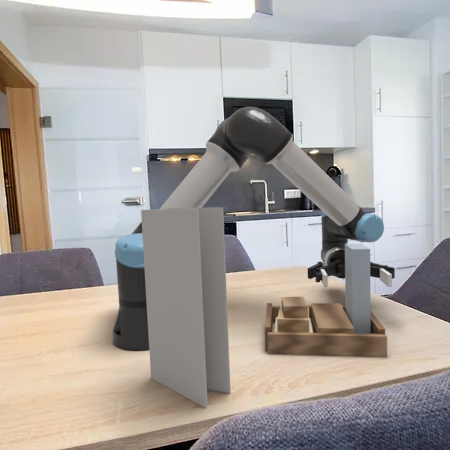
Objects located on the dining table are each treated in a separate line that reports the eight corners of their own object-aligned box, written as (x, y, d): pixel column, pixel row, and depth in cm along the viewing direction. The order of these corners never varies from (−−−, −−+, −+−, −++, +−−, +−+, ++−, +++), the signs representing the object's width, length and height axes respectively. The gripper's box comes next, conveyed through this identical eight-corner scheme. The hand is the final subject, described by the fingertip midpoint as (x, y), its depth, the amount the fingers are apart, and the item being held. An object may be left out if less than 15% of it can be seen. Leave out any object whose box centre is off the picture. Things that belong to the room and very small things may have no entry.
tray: (265, 353, 71) (264, 329, 71) (268, 321, 90) (267, 301, 89) (387, 357, 68) (387, 331, 68) (364, 322, 86) (364, 302, 86)
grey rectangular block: (352, 345, 74) (351, 249, 72) (345, 330, 82) (344, 243, 80) (370, 345, 73) (370, 249, 72) (361, 330, 81) (361, 243, 80)
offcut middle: (277, 332, 76) (277, 319, 75) (280, 318, 84) (280, 305, 84) (309, 334, 74) (308, 320, 74) (308, 319, 83) (308, 306, 83)
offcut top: (284, 317, 76) (283, 306, 76) (281, 307, 83) (281, 296, 83) (308, 317, 76) (307, 306, 75) (303, 307, 82) (303, 296, 82)
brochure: (231, 392, 58) (223, 207, 55) (206, 408, 54) (197, 209, 51) (175, 366, 68) (166, 208, 65) (151, 378, 64) (140, 209, 61)
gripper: (387, 275, 98) (417, 297, 77) (295, 276, 102) (300, 297, 81) (387, 248, 98) (417, 263, 77) (294, 250, 101) (299, 264, 80)
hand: (357, 281), depth 79 cm, fingers open, 13 cm apart
